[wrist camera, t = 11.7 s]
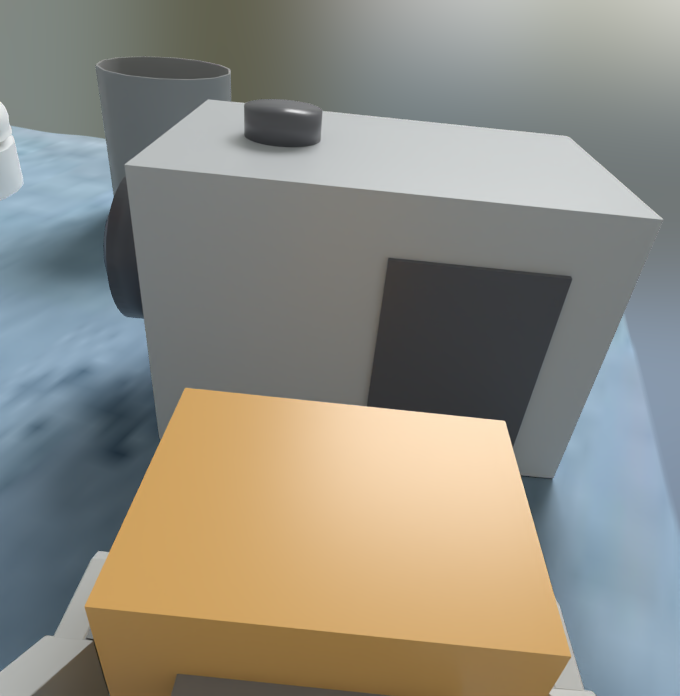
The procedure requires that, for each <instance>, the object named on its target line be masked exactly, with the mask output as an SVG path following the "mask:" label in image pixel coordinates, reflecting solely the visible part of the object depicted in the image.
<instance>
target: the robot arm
mask: <svg viewBox="0 0 680 696" xmlns="http://www.w3.org/2000/svg"><path fill="white" fill-rule="evenodd" d="M108 554H109V552H103V551H98V552H97V553H96V554H95V555H94V557H93V558H92V559H91V560H90V563H89V565H88V567H87V569H86V571H85V573H84V575H83V577H82V579H81V581H80V583H79V585H78V587H77V589H76V591H75V593H74V595H73V597H72V599H71V601H70V603H69V605H68V608H67V610H66V612H65V614H64V616H63V618H62V620H61V622H60V624H59V626H58V628H57V630H56V632H55V634H54V636H46V635H45V636H44V637H43V638H42V639H40V640H39V641H38V642H37V643H35V644H34V645H33V646H32V647H30V648H29V649H28V650H27V651H26V652H24V653H23V654H22V655H21V656H19V657H18V658H17V659H16V660H14V661H13V662H12V663H11V664H9V665H8V666H7V667H6V668H4V669H3V670H2V671H1V672H0V696H109V690H108V687H107V683H106V680H105V677H104V673H103V670H102V666H101V663H100V659H99V656H98V652H97V649H96V645H95V642H94V639H93V635H92V632H91V628H90V625H89V621H88V618H87V614H86V611H85V607H84V606H85V604H86V602H87V600H88V597H89V595H90V593H91V591H92V589H93V587H94V584H95V582H96V580H97V578H98V576H99V574H100V571H101V569H102V567H103V565H104V563H105V561H106V558H107V556H108ZM555 600H556V599H555ZM556 603H557V607H558V610H559V614H560V617H561V621H562V625H563V628H564V632H565V635H566V639H567V642H568V646H569V649H570V653H571V658H570V660H569V662H568V663H567V665H566V667H565V668H564V670H563V672H562V673H561V675H560V676H559V678H558V680H557V681H556V683H555V685H554V686H553V688H552V690H551V691H550V693H549V695H548V696H596V695H595V693H594V692H593V691H588V690H584V687H583V683H582V680H581V676H580V673H579V670H578V666H577V663H576V659H575V656H574V653H573V649H572V646H571V642H570V639H569V636H568V632H567V629H566V625H565V622H564V618H563V615H562V612H561V608H560V605H559V603H558V602H557V600H556Z"/></svg>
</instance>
